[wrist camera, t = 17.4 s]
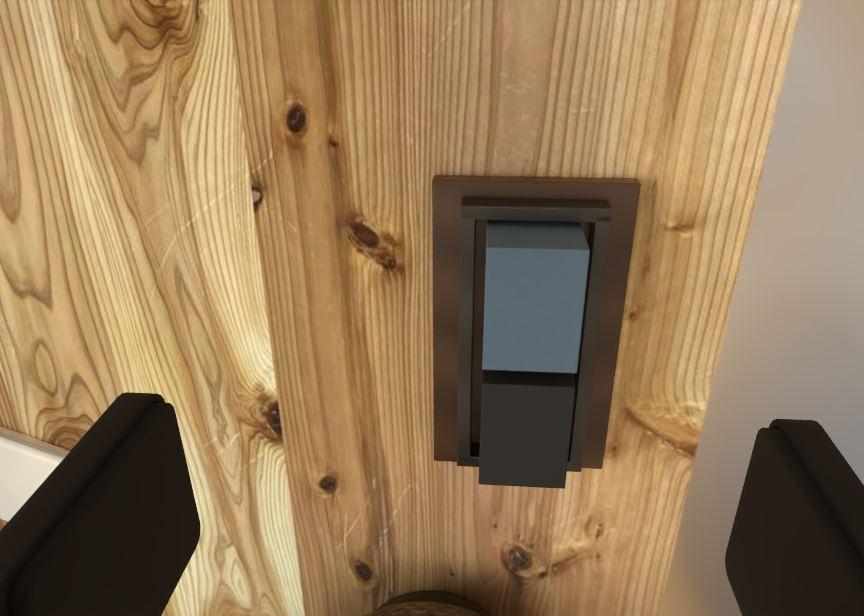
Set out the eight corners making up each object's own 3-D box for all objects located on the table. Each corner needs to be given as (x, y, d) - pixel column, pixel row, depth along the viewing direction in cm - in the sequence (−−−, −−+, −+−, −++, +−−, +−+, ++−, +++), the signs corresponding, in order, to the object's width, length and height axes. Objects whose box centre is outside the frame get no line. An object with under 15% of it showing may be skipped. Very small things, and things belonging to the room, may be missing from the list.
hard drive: (-86, 492, 50) (77, 548, 51) (-82, 409, 46) (93, 472, 47) (-69, 477, 51) (89, 532, 52) (-64, 396, 47) (105, 457, 49)
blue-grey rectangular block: (568, 332, 39) (577, 373, 35) (483, 330, 40) (482, 370, 36) (579, 219, 36) (590, 249, 32) (487, 217, 37) (486, 247, 33)
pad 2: (482, 342, 40) (481, 383, 36) (567, 345, 40) (575, 387, 36) (479, 437, 43) (478, 484, 39) (558, 441, 43) (564, 488, 39)
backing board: (433, 175, 37) (429, 188, 35) (637, 178, 36) (646, 191, 34) (435, 451, 45) (432, 475, 43) (599, 459, 44) (605, 484, 42)
